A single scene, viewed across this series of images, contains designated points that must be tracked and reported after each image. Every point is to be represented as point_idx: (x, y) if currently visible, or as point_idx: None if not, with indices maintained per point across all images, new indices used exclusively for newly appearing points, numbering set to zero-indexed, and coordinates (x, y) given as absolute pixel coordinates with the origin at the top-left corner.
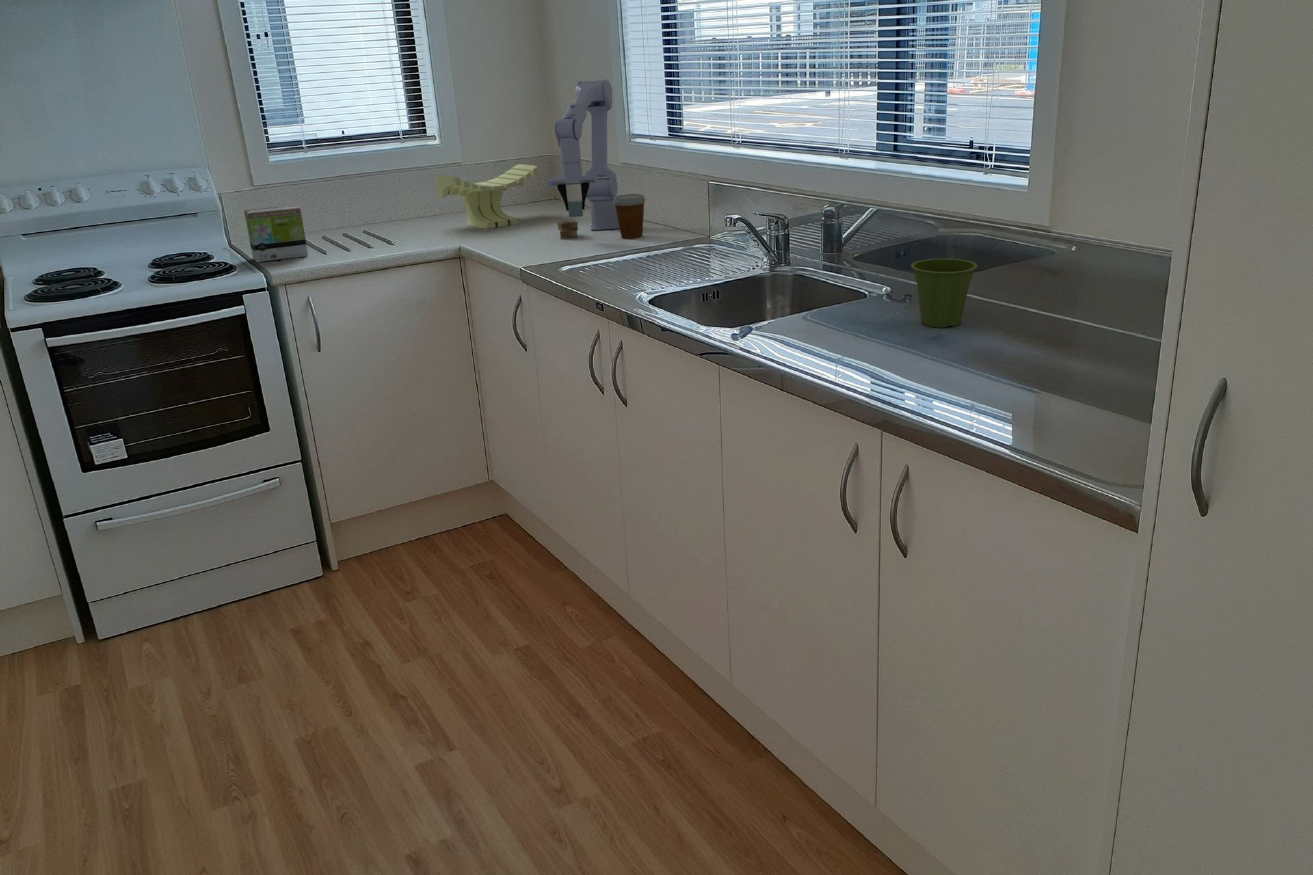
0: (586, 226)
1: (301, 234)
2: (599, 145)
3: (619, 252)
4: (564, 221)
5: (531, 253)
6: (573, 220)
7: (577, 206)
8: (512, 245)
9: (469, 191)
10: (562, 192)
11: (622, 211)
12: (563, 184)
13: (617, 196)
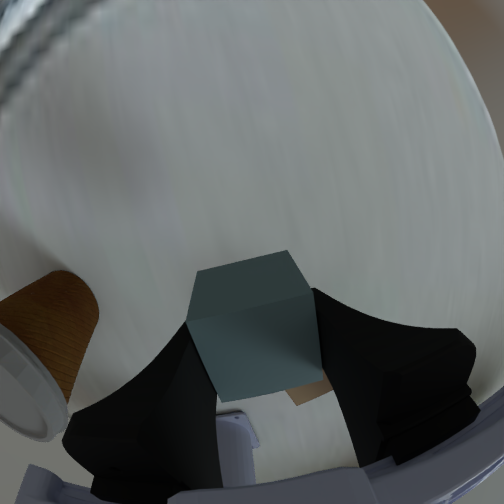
0: (273, 449)
1: None
2: None
3: (51, 38)
4: (327, 378)
5: (374, 49)
6: (293, 394)
7: (226, 296)
8: (454, 221)
9: None
10: (404, 341)
11: (15, 314)
12: (418, 447)
13: (47, 424)
